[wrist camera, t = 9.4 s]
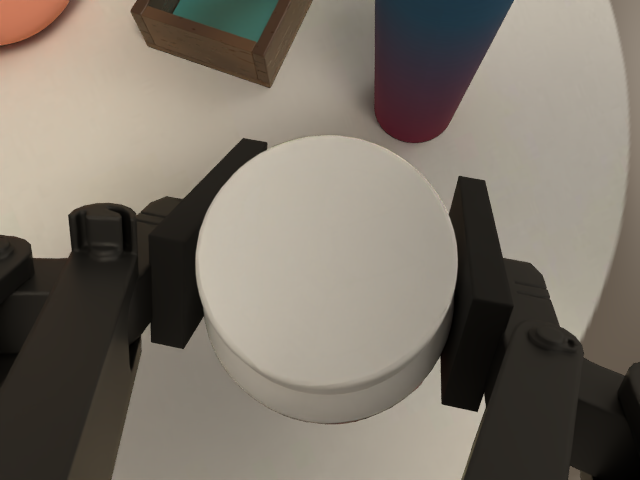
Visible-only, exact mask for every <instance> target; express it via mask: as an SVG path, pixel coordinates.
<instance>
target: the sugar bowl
mask: <svg viewBox="0 0 640 480" xmlns="http://www.w3.org/2000/svg"><path fill="white" fill-rule="evenodd" d="M69 1H70V0H0V45H6V44H11V43H15V42H19V41H21V40H24V39H26V38H29V37H31V36H33V35H35V34H37V33H38V32H40V31H41V30H43V29H44V28H46V27H47V26H48V25H49V24H51V23H52V22H53V21H54V20H55V19H56V18H57V17H58V16H59V15H60V14H61V13H62V11H63V10H64V9H65V7H66V6H67V4H68V3H69Z"/></svg>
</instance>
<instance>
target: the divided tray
mask: <svg viewBox="0 0 640 480" xmlns="http://www.w3.org/2000/svg"><path fill="white" fill-rule="evenodd" d="M312 1H313V0H137V1H136V3H135V4H134V6H133V8H132V9H131V14H132V16H133V18H134V20H135V22H136V24H137V26H138V28H139V29H140V31H141V33H142V35H143V37H144V39H145V41H146V44H147V46H149V47H152V48H155V49H158V50H161V51H164V52H166V53H169V54H172V55H175V56H178V57H181V58H184V59H187V60H190V61H193V62H196V63H199V64H201V65H204V66H207V67H210V68H213V69H216V70H219V71H222V72H225V73H228V74H231V75H234V76H236V77H239V78H242V79H245V80H248V81H251V82H254V83H257V84H260V85H263V86H266V87H269V88H270V87H271V85H272V83H273V81H274V79H275V77H276V75H277V73H278V71H279V69H280V67H281V65H282V63H283V61H284V59H285V57H286V54H287V52H288V50H289V48H290V46H291V44H292V42H293V40H294V38H295V36H296V34H297V32H298V30H299V28H300V26H301V24H302V21H303V19H304V17H305V15H306V13H307V11H308V9H309V7H310V5H311V3H312Z"/></svg>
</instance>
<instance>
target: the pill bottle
mask: <svg viewBox="0 0 640 480" xmlns="http://www.w3.org/2000/svg"><path fill="white" fill-rule="evenodd" d="M195 266H196V280H197V286H198V291H199V296H200V299H201V303H202V305H203V311H204V318H205V324H206V328H207V332H208V335H209V339H210V341H211V344H212V347H213V349H214V351H215V353H216V355H217V357H218V359H219V361H220V362H221V364H222V365H223V367H224V368H225V370H226V371H227V372H228V374H229V375H230V376H231V378H232V379H233V380H234V381H235V382H236V383H237V384H238V385H239V386H240V387H241V388H242V389H243V390H244V391H245V392H246V393H248V394H249V395H250V396H251V397H253V398H254V399H255V400H257V401H258V402H260V403H261V404H263V405H264V406H266V407H268V408H269V409H271V410H273V411H275V412H278V413H280V414H282V415H284V416H287V417H290V418H293V419H297V420H300V421H304V422H312V423H319V424H344V423H350V422H356V421H359V420H362V419H366V418H369V417H371V416H374V415H376V414H379V413H381V412H383V411H385V410H387V409H389V408H391V407H393V406H394V405H396V404H397V403H399V402H400V401H402V400H403V399H405V398H406V397H407V396H408V395H409V394H411V393H412V392H413V391H414V390H416V389H417V388H418V387H419V386H420V384H421V383H422V382H423V380H424V379H425V378H426V377H427V375H428V374H429V373H430V372H431V370H432V369H433V367H434V365H435V364H436V362H437V360H438V359H439V357H440V355H441V353H442V351H443V349H444V346H445V344H446V342H447V339H448V336H449V332H450V329H451V324H452V320H453V312H454V290H455V285H456V279H457V269H458V256H457V243H456V238H455V233H454V229H453V226H452V223H451V220H450V217H449V215H448V212H447V210H446V208H445V206H444V204H443V202H442V200H441V199H440V197H439V195H438V194H437V192H436V191H435V190H434V188H433V187H432V185H431V184H430V183H429V182H428V181H427V179H426V178H425V177H424V176H423V175H422V174H421V173H420V172H419V171H418V170H417V169H416V168H415V167H413V166H412V165H411V164H410V163H409V162H407V161H406V160H404V159H403V158H401V157H400V156H398V155H397V154H395V153H393V152H392V151H390V150H388V149H386V148H384V147H382V146H379V145H377V144H374V143H372V142H368V141H365V140H362V139H357V138H352V137H346V136H336V135H323V136H321V135H318V136H309V137H303V138H299V139H294V140H290V141H287V142H285V143H282V144H279V145H276V146H274V147H272V148H270V149H268V150H266V151H264V152H262V153H260V154H258V155H257V156H255V157H254V158H252V159H251V160H249V161H248V162H247V163H245V164H244V165H243V166H242V167H240V168H239V169H238V170H237V172H235V173H234V174H233V175H232V176H231V178H230V179H229V180H228V181H227V182H226V183H225V184H224V185H223V186H222V188H221V189H220V191H219V192H218V193H217V195H216V196H215V198H214V199H213V201H212V203H211V205H210V206H209V208H208V210H207V212H206V215H205V217H204V220H203V223H202V226H201V228H200V231H199V237H198V242H197V248H196V258H195Z"/></svg>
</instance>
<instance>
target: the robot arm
mask: <svg viewBox="0 0 640 480" xmlns="http://www.w3.org/2000/svg"><path fill="white" fill-rule="evenodd" d="M266 150H267V142H262V141H257V140H251V139H245V138H243V139H242V140H241V141H240V142H239V143H238V144H237V145H236V146H235V147H234V148H233V149H232V150H231V151H230V152H229V153H228V154H227V155H226V156H225V157H224V158H223V159H222V160H221V161H220V162H219V163H218V164H217V165H216V166H215V167H214V168H213V169H212V170H211V171H210V172H209V173H208V174H207V175H206V176H205V178H204V179H203V180H202V181H201V182H200V183H199V184H198V185H197V186H196V187H195V188H194V189H193V190H192V191H191V192H190V193H189V194H188V195H187V196H186V197H185V198H184V199H178V198H173V197H168V196H166V197H164V198H161V199H159V200H156V201H154V202H151V203H150V204H149V205H148V206H146V207H145V208H144V209H143V210H142V211H141V213H139V214H138V215H137V216H136V213H135V212H134V211H133V210H132V209H131V208H129V207H126V206H123V205H120V204H113V203H96V204H90V205H85V206H82V207H80V208H77V209H75V210H73V211H72V212H71V213H70V214H69V215H68V217H69V227H70V237H71V247H72V252H71V253H70V255H69V257H68V258H60V259H55V258H32V250H31V244H30V243H28V242H27V241H26V240H25V239H21V238H18V237H15V236H5V235H0V480H111V479H112V474H113V470H114V466H115V462H116V458H117V453H118V449H119V445H120V441H121V436H122V432H123V428H124V424H125V419H126V415H127V411H128V407H129V402H130V398H131V394H132V390H133V386H134V381H135V377H136V373H137V369H138V364H139V360H140V356H141V352H142V350H141V334H142V333H143V331H144V330H145V329H146V327H147V326H148V325H149V323H150V322H151V342H152V343H157V344H162V345H166V346H171V347H176V348H180V349H184V348H185V346H186V344H187V343H188V341H189V340H190V338H191V336H192V335H193V333H194V331H195V330H196V328H197V327H198V325H199V323H200V322H201V320H202V318H203V317H204V311H203V305H202V303H201V299H200V296H199V291H198V286H197V280H196V266H195V258H196V248H197V242H198V237H199V231H200V228H201V226H202V223H203V220H204V217H205V215H206V212H207V210H208V208H209V206H210V205H211V203H212V201H213V199H214V198H215V196H216V195H217V193H218V192H219V191H220V189H221V188H222V186H223V185H224V184H225V183H226V182H227V181H228V180H229V179H230V178H231V176H232V175H233V174H234V173H235V172H237V170H238V169H239V168H240V167H242V166H243V165H244V164H245V163H247V162H248V161H249V160H251V159H252V158H254V157H255V156H257V155H258V154H260V153H262V152H264V151H266ZM449 217H450V220H451V223H452V226H453V229H454V233H455V238H456V243H457V256H458V269H457V279H456V285H455V290H454V312H453V320H452V324H451V329H450V332H449V336H448V339H447V342H446V344H445V346H444V349H443V351H442V353H441V355H440V356H441V401H442V404H443V405H447V406H452V407H457V408H461V409H466V410H471V411H475V412H478V409H479V406H480V403H481V400H482V397H483V394H484V395H485V403H486V408H485V411H484V414H483V417H482V420H481V423H480V426H479V428H478V431H477V434H476V437H475V440H474V443H473V445H472V448H471V452H470V455H469V458H468V461H467V464H466V467H465V470H464V473H463V476H462V479H461V480H568V475H569V467H570V466H572V467H575V468H576V469H578V470H580V478H581V480H640V362H638V363H634V364H633V365H632V366H631V367H630V368H629V369H628V371H627V373H626V375H625V376H624V375H622V374H619V373H617V372H614V371H611V370H609V369H606V368H604V367H601V366H599V365H597V364H595V363H592V362H590V361H589V360H587V359H585V358H584V357H583V355H584V352H583V348H582V345H581V343H580V342H579V341H578V339H577V338H576V337H575V336H574V335H572V334H571V333H570V332H568V331H567V330H565V329H564V328H561V327H560V325H559V322H558V319H557V317H556V314H555V311H554V308H553V305H552V302H551V300H550V296H549V293H548V290H546V288H547V287H546V284H545V281H544V278H543V275H542V274H541V273H540V272H539V271H538V270H537V269H536V268H535V267H534V266H533V265H532V264H531V263H528V262H522V261H517V260H512V259H506V258H503V256H502V252H501V248H500V243H499V239H498V235H497V230H496V226H495V222H494V217H493V213H492V209H491V204H490V200H489V196H488V191H487V187H486V182H485V180H479V179H474V178H468V177H462V176H459V177H458V181H457V185H456V189H455V193H454V197H453V201H452V205H451V209H450V212H449Z"/></svg>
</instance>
